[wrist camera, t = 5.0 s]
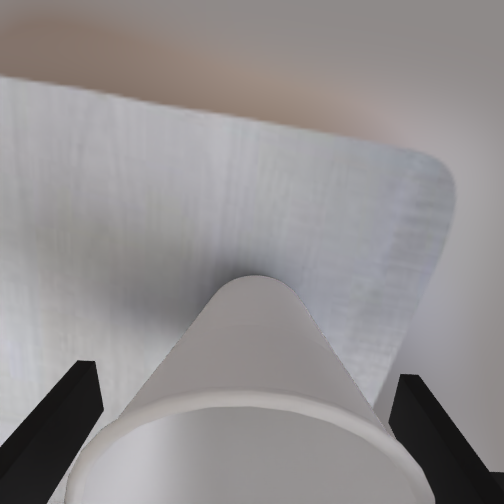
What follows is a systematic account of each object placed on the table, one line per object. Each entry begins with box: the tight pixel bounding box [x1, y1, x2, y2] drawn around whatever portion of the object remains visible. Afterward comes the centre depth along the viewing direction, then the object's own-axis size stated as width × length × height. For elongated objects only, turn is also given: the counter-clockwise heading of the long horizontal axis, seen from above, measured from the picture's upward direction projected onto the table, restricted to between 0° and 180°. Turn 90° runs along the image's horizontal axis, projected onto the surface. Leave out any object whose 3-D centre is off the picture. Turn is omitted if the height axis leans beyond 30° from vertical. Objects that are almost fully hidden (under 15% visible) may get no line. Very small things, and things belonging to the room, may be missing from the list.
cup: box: [64, 275, 435, 504], centre depth 13 cm, size 10×10×11 cm
